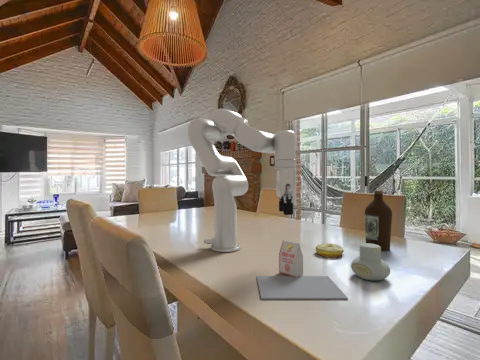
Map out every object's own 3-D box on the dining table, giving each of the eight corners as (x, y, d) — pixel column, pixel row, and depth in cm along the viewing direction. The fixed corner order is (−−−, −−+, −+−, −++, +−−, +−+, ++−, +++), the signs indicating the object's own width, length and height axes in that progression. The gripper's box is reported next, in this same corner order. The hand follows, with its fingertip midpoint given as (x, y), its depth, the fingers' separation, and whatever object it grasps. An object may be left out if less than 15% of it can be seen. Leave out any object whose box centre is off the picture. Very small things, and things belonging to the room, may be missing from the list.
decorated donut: (347, 254, 110) (347, 245, 109) (336, 260, 102) (336, 250, 102) (323, 249, 117) (323, 240, 116) (311, 254, 109) (311, 245, 109)
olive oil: (376, 244, 125) (376, 189, 125) (397, 250, 116) (398, 191, 115) (358, 246, 121) (359, 190, 121) (379, 252, 111) (380, 191, 111)
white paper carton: (286, 270, 90) (286, 239, 91) (303, 275, 85) (302, 242, 85) (279, 272, 88) (279, 240, 88) (295, 277, 83) (295, 244, 83)
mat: (261, 299, 69) (261, 298, 69) (256, 277, 84) (256, 276, 84) (347, 299, 69) (347, 297, 69) (328, 277, 84) (328, 276, 84)
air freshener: (346, 274, 87) (346, 243, 87) (363, 269, 91) (363, 240, 91) (378, 286, 77) (378, 251, 77) (395, 281, 81) (395, 247, 81)
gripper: (271, 166, 107) (272, 210, 107) (278, 164, 89) (279, 216, 90) (290, 166, 107) (291, 210, 107) (301, 164, 90) (301, 216, 90)
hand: (285, 212), depth 98 cm, fingers open, 9 cm apart
